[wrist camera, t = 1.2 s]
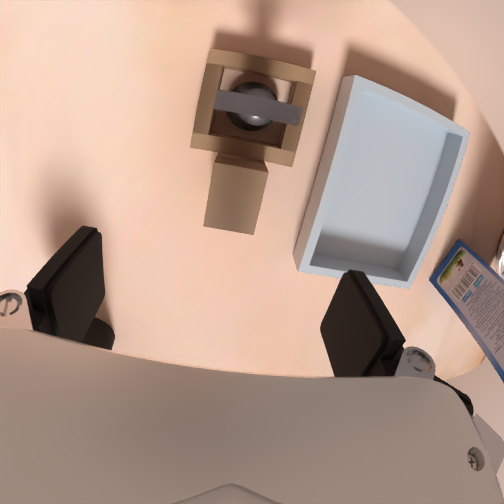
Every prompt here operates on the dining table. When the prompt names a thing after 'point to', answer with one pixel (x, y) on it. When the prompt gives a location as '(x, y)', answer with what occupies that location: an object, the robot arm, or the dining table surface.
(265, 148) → the ring
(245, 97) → the gray bar-topped pedestal
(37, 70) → the dining table surface
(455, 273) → the milk carton
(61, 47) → the dining table surface
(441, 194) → the tray
